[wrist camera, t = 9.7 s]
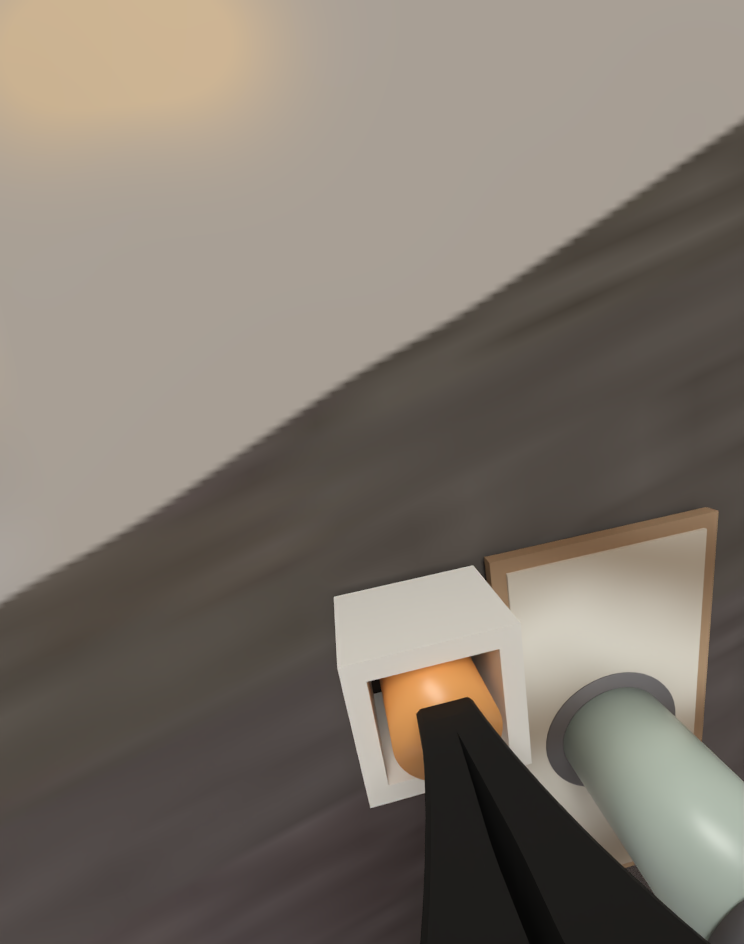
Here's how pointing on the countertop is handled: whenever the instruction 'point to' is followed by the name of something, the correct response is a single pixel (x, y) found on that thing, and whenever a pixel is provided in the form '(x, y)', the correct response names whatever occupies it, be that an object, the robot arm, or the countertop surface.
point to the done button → (430, 704)
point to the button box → (425, 661)
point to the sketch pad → (609, 634)
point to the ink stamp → (666, 806)
